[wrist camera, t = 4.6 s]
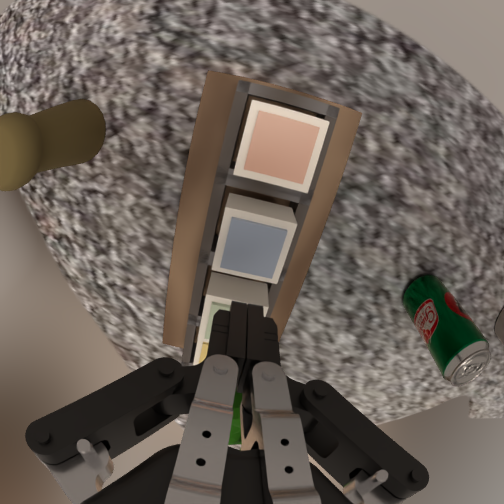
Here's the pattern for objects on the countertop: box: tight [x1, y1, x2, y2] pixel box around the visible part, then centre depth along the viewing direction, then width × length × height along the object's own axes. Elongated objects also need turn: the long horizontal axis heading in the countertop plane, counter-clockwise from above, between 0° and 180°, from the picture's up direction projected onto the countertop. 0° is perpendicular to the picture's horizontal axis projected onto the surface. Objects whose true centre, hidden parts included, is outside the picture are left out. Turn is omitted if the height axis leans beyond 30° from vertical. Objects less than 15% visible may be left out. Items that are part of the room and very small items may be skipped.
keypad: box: [162, 70, 362, 366], centre depth 25 cm, size 12×27×4 cm, turn 166°
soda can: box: [403, 275, 491, 386], centre depth 24 cm, size 5×5×12 cm
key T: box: [212, 193, 297, 284], centre depth 20 cm, size 4×4×3 cm
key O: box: [233, 100, 329, 193], centre depth 17 cm, size 4×4×3 cm
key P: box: [193, 339, 209, 365], centre depth 28 cm, size 4×4×3 cm
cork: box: [0, 99, 105, 191], centre depth 17 cm, size 6×6×11 cm
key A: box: [198, 272, 269, 341], centre depth 23 cm, size 4×4×3 cm
